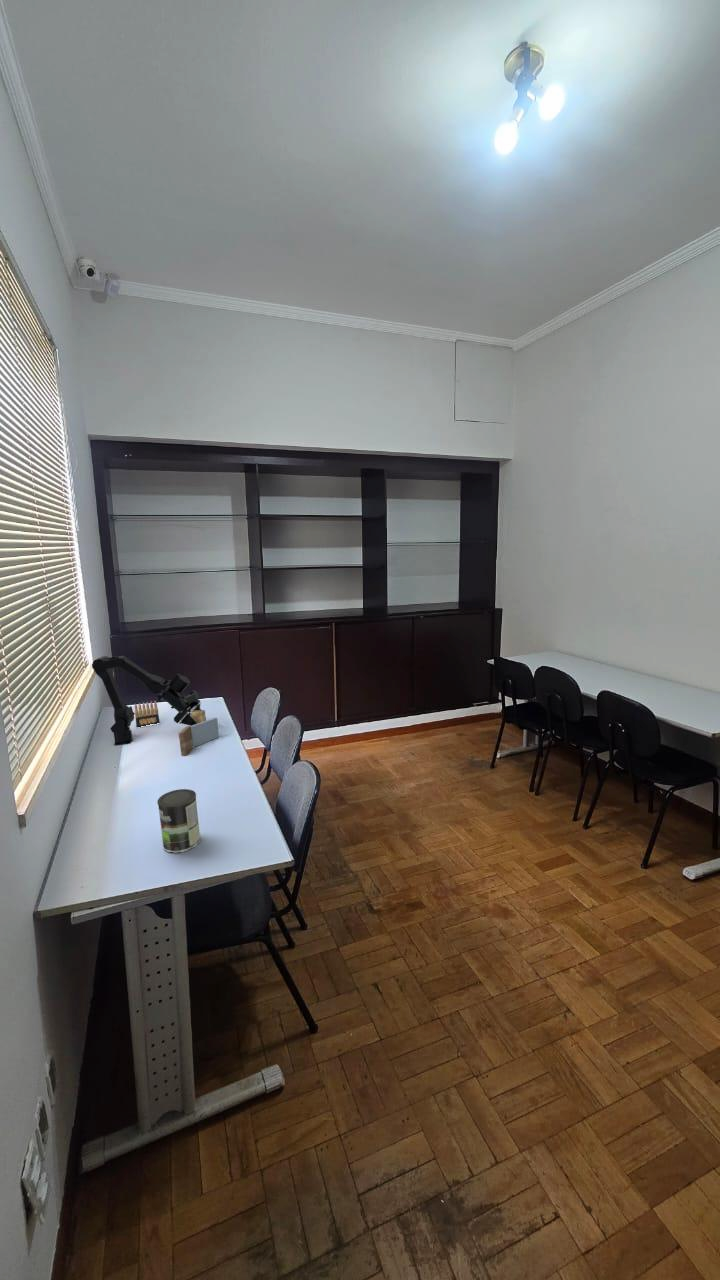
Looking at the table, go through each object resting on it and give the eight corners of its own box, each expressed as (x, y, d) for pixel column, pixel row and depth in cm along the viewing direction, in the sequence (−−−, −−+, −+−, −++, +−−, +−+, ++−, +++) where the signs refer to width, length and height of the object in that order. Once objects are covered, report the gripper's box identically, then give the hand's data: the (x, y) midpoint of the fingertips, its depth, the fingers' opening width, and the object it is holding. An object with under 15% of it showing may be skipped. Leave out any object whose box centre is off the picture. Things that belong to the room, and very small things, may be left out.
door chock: (193, 740, 228) (190, 713, 225) (196, 736, 232) (193, 710, 229) (204, 739, 227) (201, 712, 225) (207, 736, 231) (204, 710, 229)
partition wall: (181, 756, 210) (178, 732, 208) (188, 748, 218) (186, 726, 216) (186, 755, 210) (183, 732, 208) (193, 748, 218) (190, 725, 216)
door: (192, 746, 220) (190, 726, 218) (217, 736, 230) (215, 717, 228) (193, 746, 219) (191, 726, 217) (219, 737, 229) (217, 717, 227)
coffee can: (172, 858, 140) (167, 810, 137) (157, 843, 147) (151, 798, 144) (207, 842, 147) (202, 796, 144) (190, 829, 154) (185, 785, 151)
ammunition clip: (136, 728, 248) (133, 704, 245) (136, 726, 249) (133, 703, 247) (160, 724, 252) (157, 700, 249) (159, 723, 253) (157, 699, 251)
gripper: (177, 693, 216) (206, 717, 218) (194, 681, 235) (220, 703, 236) (161, 711, 218) (189, 735, 219) (179, 698, 236) (204, 720, 238)
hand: (202, 723), depth 228 cm, fingers open, 9 cm apart
